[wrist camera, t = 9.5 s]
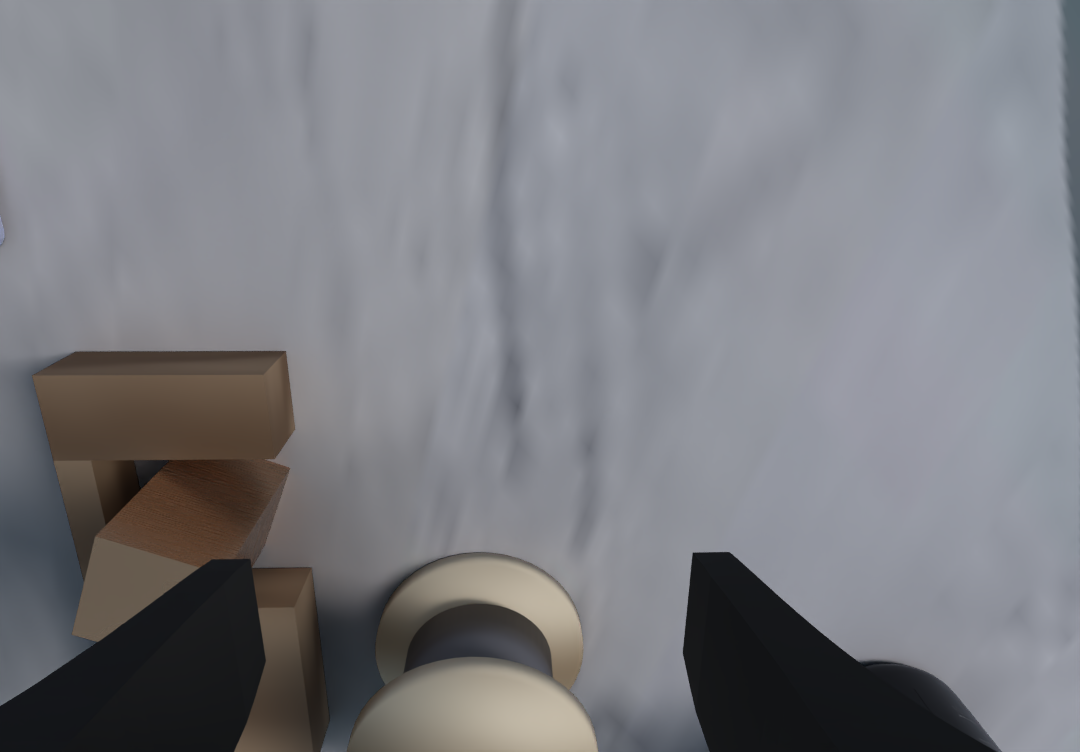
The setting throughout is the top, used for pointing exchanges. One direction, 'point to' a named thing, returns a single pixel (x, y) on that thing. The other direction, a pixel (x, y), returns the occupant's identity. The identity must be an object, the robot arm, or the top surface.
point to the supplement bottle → (933, 698)
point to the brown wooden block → (176, 535)
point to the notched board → (191, 434)
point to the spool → (477, 663)
